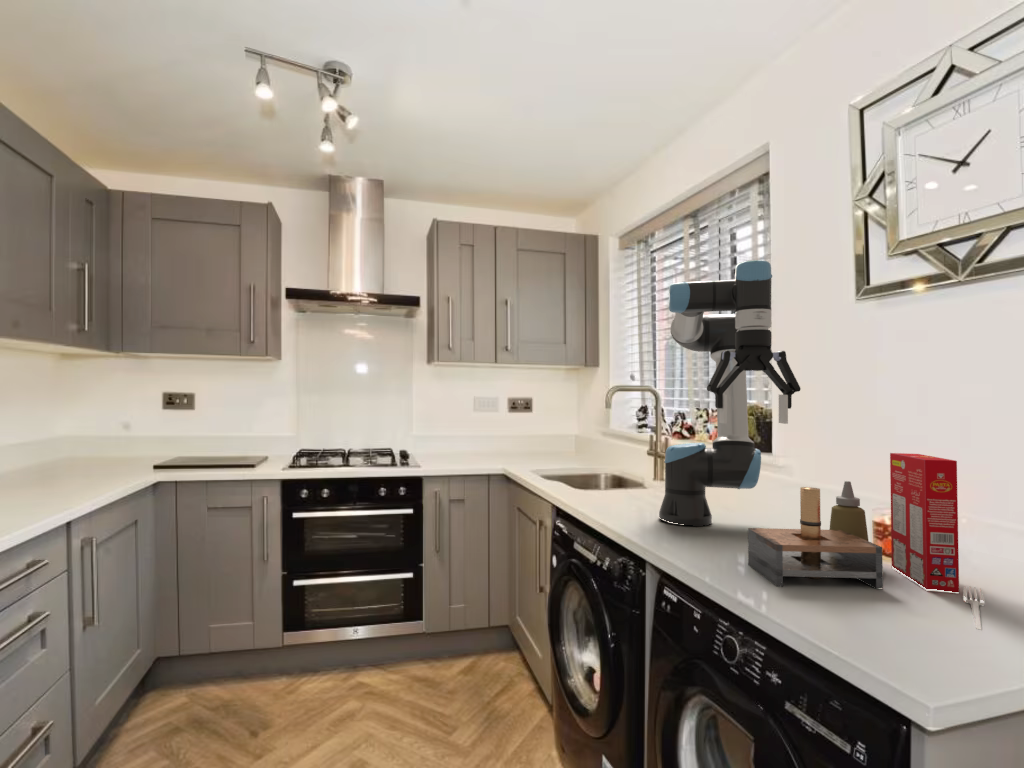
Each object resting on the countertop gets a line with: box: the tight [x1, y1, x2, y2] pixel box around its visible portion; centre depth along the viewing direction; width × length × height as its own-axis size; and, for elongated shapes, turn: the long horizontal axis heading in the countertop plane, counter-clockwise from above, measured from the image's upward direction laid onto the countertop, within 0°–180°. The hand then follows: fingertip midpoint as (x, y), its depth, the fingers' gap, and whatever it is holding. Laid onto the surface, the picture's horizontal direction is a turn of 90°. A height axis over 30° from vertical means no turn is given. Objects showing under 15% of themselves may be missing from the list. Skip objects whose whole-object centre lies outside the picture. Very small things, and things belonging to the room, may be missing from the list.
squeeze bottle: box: [828, 480, 870, 542], centre depth 122 cm, size 8×8×18 cm
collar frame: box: [747, 527, 884, 589], centre depth 111 cm, size 14×20×8 cm
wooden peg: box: [799, 486, 822, 580], centre depth 111 cm, size 4×4×18 cm
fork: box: [962, 585, 985, 631], centre depth 93 cm, size 3×20×2 cm, turn 141°
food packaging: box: [889, 452, 960, 593], centre depth 109 cm, size 15×5×25 cm, turn 167°
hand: (753, 423), depth 122 cm, fingers open, 13 cm apart
